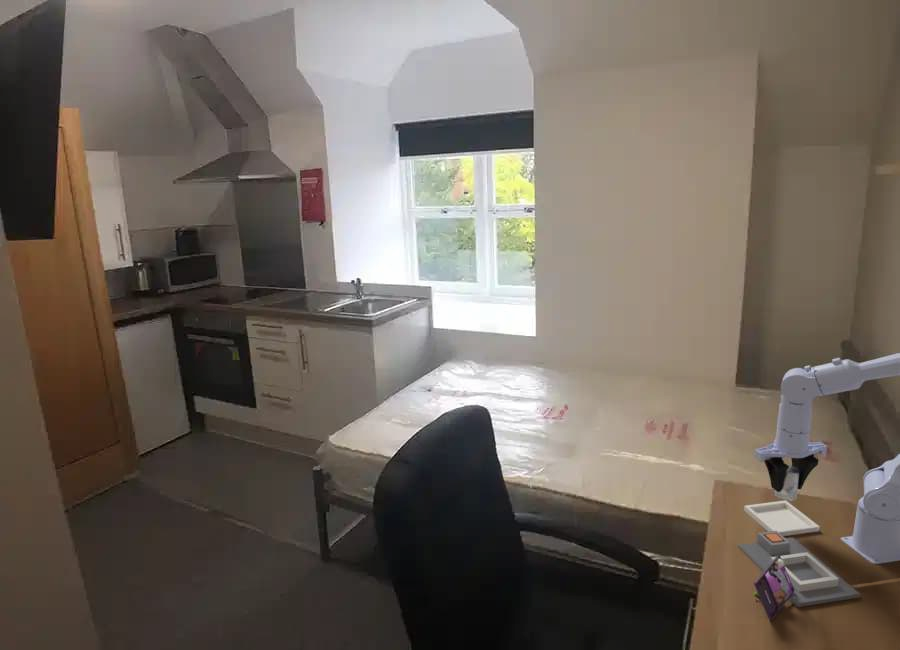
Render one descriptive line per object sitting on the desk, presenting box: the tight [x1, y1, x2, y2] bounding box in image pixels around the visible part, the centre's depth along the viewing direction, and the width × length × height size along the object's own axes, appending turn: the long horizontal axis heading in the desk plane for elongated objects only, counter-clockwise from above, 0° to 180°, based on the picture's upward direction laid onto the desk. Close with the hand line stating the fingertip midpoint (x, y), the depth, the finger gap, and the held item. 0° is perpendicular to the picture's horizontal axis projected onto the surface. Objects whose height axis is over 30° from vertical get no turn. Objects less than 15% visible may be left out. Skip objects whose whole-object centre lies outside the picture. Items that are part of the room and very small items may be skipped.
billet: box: [774, 464, 800, 502], centre depth 119 cm, size 4×4×6 cm
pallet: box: [737, 531, 861, 608], centre depth 108 cm, size 12×16×3 cm
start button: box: [765, 533, 783, 543], centre depth 114 cm, size 2×2×2 cm
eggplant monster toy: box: [752, 556, 794, 621], centre depth 101 cm, size 7×5×9 cm
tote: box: [743, 500, 821, 537], centre depth 123 cm, size 10×10×1 cm
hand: (786, 488), depth 120 cm, fingers closed on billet, 4 cm apart
